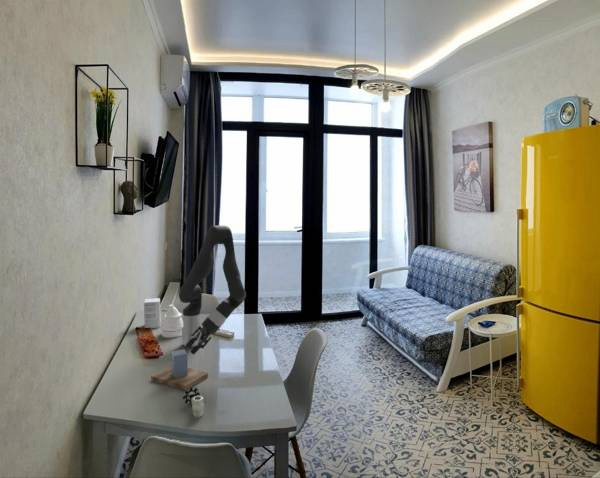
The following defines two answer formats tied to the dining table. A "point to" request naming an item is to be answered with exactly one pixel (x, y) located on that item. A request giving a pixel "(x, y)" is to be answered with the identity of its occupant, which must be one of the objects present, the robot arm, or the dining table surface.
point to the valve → (195, 401)
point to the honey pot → (172, 323)
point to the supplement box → (152, 313)
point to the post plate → (179, 378)
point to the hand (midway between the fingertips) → (189, 350)
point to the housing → (179, 363)
